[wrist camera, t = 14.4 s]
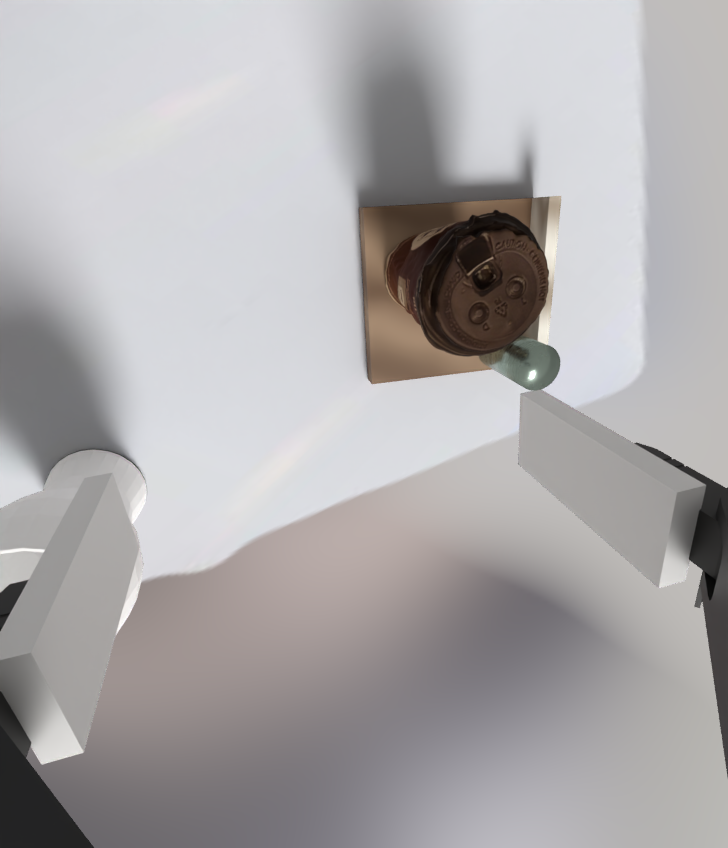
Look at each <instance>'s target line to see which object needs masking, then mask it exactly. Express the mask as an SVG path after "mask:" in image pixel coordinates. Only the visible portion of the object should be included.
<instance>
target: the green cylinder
mask: <svg viewBox="0 0 728 848" xmlns="http://www.w3.org/2000/svg"><path fill="white" fill-rule="evenodd" d="M478 357H479V359H480V360H481V362H482V363H483V364H485V365H486V366H488V367H490V368H492V369H493V370H495V371H497V372H499V373H500V374H502V375H504V376H505V377H507V378H509V379H511V380H512V381H514V382H516V383H517V384H519V385H521V386H523V387H524V388H526V389H528V390H533V391H535V390H541V389H543V388H545V387H547V386H548V385H550V384H551V383H552V382H553V381H554V379H555V378H556V376H557V374H558V372H559V369H560V358H559V355H558V353H557V351H556V350H555V349H554V348H552V347H551V346H548V345H546V344H543V343H541V342H538V341H536V340H533V339H531V338H528V337H526V336H523V335H522V336H520V337H519V338H517V339H516V340H515V341H514V342H512V343H511V344H509V345H508V346H506V347H505V348H503V349H501V350H498V351H496V352H493V353H489V354H486V355H483V356H478Z"/></svg>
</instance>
